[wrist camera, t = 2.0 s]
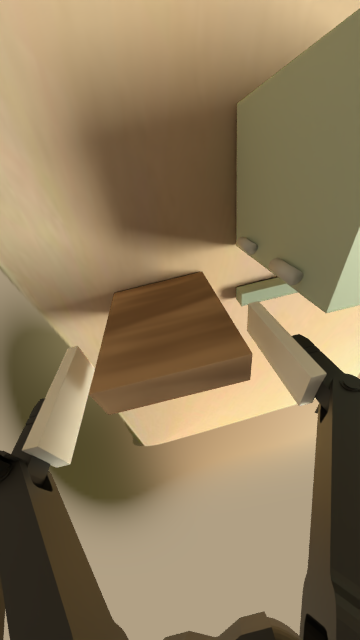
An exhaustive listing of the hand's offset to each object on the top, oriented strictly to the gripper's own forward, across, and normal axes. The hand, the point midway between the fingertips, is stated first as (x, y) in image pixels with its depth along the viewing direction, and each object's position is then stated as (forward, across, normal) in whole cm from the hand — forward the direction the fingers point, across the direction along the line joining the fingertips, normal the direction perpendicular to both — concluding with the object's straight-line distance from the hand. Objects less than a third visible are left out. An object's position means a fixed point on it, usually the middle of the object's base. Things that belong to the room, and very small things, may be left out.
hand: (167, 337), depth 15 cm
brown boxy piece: (+6, 0, 0) cm, 6 cm away
